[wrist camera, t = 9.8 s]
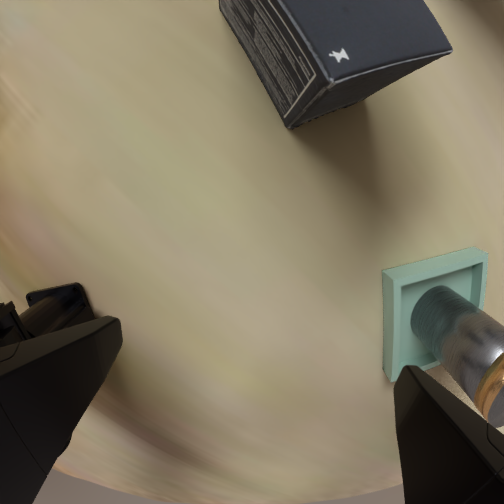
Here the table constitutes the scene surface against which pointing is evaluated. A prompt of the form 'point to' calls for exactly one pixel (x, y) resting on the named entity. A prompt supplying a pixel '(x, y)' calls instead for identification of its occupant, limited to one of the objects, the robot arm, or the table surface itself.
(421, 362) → the tray
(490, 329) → the lidded jar
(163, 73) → the table surface
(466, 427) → the robot arm
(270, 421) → the table surface
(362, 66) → the small box
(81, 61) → the table surface
